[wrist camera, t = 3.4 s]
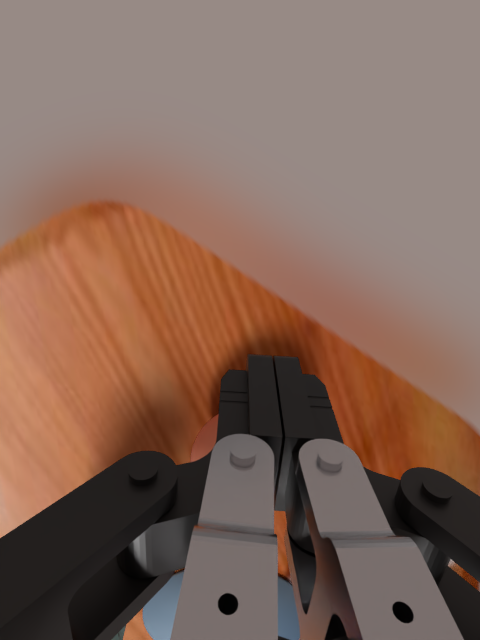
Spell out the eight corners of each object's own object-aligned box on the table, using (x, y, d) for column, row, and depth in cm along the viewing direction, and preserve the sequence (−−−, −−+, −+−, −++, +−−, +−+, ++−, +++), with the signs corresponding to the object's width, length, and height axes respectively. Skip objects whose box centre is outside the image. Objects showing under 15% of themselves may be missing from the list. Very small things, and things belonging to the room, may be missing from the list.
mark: (317, 653, 34) (317, 655, 34) (169, 669, 36) (169, 672, 35) (294, 552, 29) (294, 555, 29) (120, 576, 30) (119, 579, 30)
